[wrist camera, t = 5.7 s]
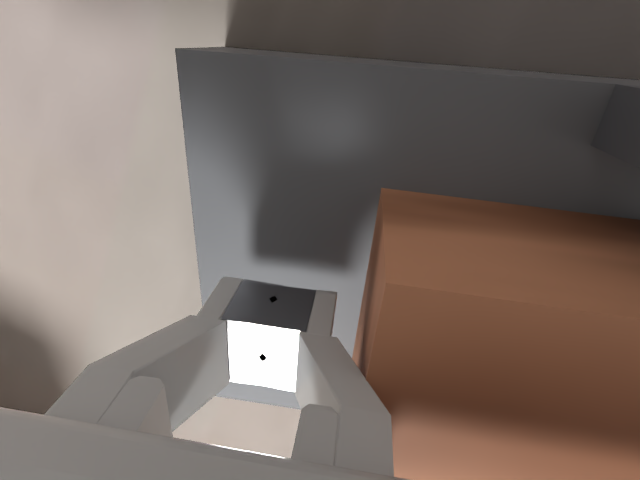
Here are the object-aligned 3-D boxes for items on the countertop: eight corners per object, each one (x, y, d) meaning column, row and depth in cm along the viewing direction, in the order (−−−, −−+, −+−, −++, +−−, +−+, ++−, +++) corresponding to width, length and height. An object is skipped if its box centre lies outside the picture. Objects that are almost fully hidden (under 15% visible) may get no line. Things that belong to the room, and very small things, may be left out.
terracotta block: (381, 187, 9) (386, 282, 5) (646, 220, 8) (841, 347, 5) (350, 367, 12) (340, 505, 8) (547, 398, 11) (625, 559, 8)
